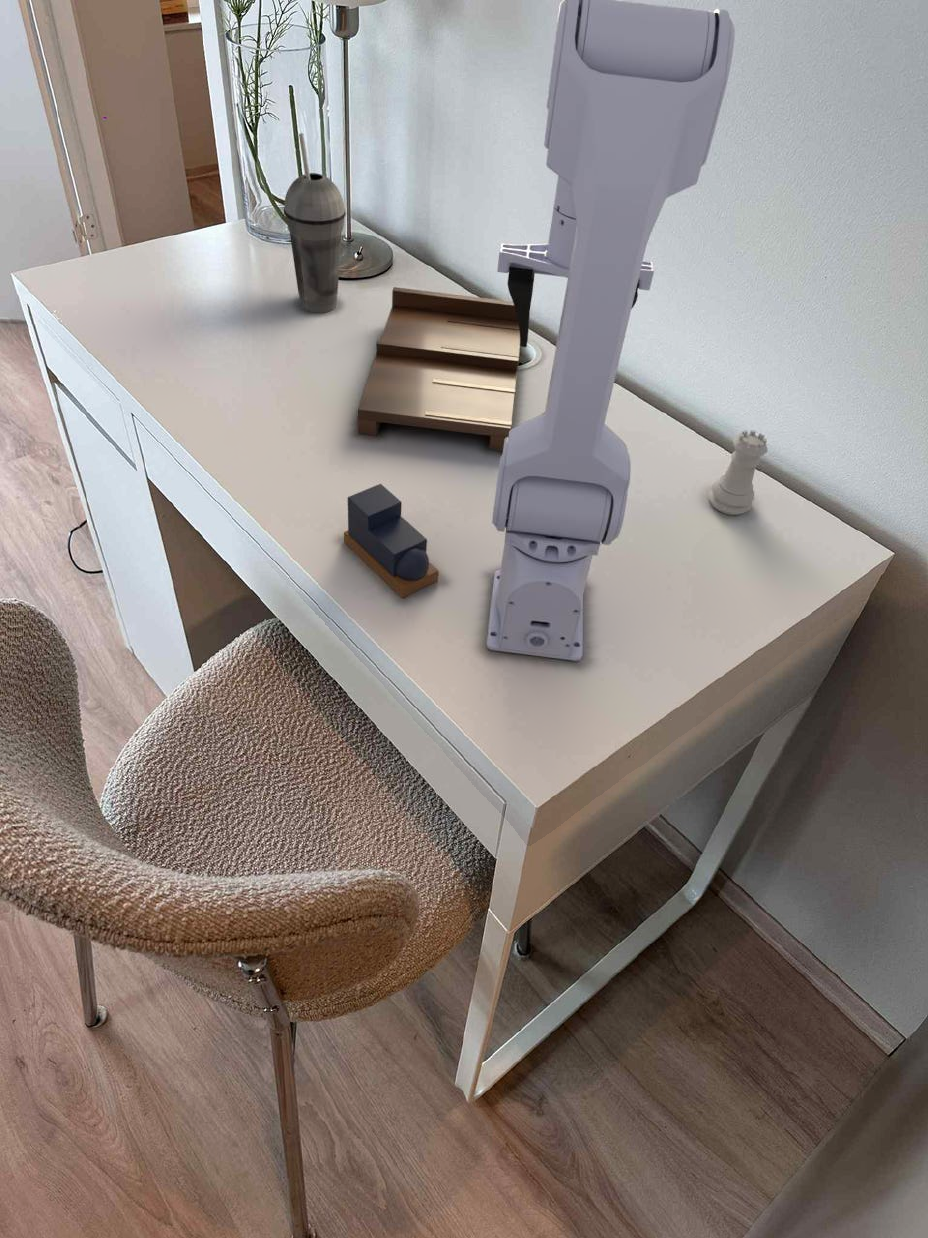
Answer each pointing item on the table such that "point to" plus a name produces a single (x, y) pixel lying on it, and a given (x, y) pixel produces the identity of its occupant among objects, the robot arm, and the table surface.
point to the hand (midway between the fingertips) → (561, 346)
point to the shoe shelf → (444, 366)
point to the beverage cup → (315, 236)
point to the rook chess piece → (739, 475)
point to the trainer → (388, 541)
